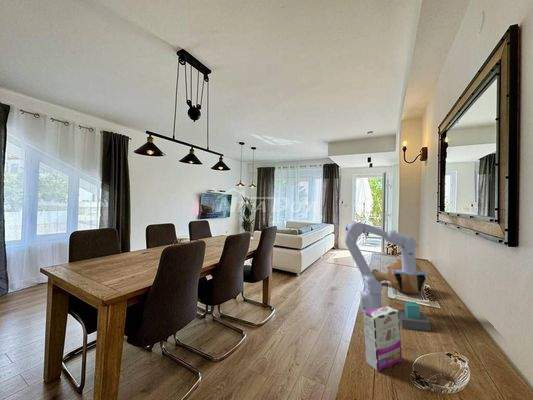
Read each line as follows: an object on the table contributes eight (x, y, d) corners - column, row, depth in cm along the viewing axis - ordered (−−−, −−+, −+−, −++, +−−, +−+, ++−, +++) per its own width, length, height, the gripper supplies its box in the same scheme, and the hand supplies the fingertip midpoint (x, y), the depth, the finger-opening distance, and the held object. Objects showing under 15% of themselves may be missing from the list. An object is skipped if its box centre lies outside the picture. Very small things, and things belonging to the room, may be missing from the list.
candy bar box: (388, 353, 80) (386, 304, 80) (402, 362, 75) (399, 310, 76) (364, 362, 75) (362, 311, 76) (377, 372, 70) (375, 317, 71)
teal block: (407, 317, 97) (406, 305, 97) (404, 312, 102) (404, 301, 102) (419, 318, 96) (419, 306, 96) (416, 314, 100) (415, 302, 100)
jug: (413, 280, 120) (361, 274, 144) (428, 304, 125) (375, 295, 149) (421, 252, 131) (372, 251, 155) (435, 276, 135) (384, 272, 160)
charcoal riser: (402, 328, 95) (401, 319, 96) (396, 317, 105) (396, 309, 105) (430, 331, 92) (429, 322, 93) (422, 319, 102) (421, 311, 102)
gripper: (393, 263, 110) (394, 292, 109) (429, 264, 105) (430, 294, 104) (390, 259, 116) (391, 287, 116) (423, 261, 112) (425, 289, 111)
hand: (410, 290), depth 111 cm, fingers open, 7 cm apart
